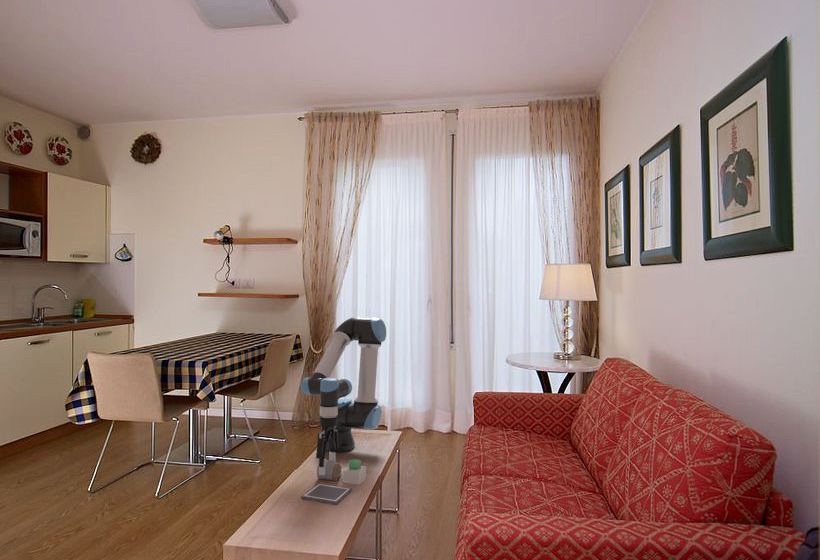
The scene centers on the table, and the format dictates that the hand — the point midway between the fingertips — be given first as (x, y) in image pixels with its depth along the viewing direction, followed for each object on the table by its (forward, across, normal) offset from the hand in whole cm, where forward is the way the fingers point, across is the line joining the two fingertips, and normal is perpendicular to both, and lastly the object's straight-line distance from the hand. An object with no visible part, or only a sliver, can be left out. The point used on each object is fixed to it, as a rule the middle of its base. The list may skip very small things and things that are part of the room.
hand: (327, 471), depth 202 cm
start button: (-3, -1, +12) cm, 12 cm away
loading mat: (+3, +14, +8) cm, 17 cm away
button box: (+3, -2, +12) cm, 12 cm away
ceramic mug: (+3, -1, +1) cm, 4 cm away
